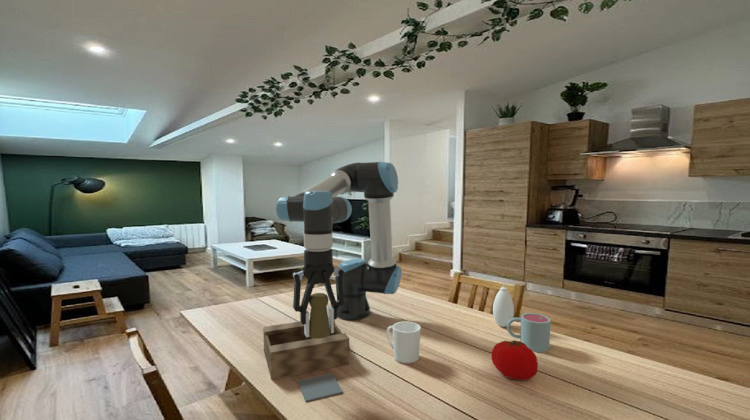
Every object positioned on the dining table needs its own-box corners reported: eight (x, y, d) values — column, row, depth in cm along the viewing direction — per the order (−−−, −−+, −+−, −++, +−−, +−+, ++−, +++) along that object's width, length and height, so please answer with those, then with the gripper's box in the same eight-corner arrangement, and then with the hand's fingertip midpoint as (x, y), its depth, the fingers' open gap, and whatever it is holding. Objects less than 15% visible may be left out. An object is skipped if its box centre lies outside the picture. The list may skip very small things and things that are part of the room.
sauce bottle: (491, 328, 137) (492, 282, 136) (493, 321, 144) (494, 277, 143) (513, 331, 134) (514, 284, 133) (513, 323, 141) (515, 279, 140)
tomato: (534, 390, 96) (535, 354, 95) (486, 377, 102) (487, 342, 102) (540, 372, 105) (541, 338, 104) (496, 361, 112) (496, 329, 111)
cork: (325, 339, 92) (325, 298, 92) (304, 337, 94) (303, 296, 93) (333, 330, 98) (333, 291, 98) (312, 328, 100) (312, 290, 99)
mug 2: (548, 343, 124) (550, 315, 124) (549, 354, 116) (550, 324, 115) (507, 336, 130) (508, 309, 129) (505, 346, 122) (506, 318, 121)
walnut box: (331, 338, 128) (331, 316, 128) (349, 363, 110) (349, 338, 110) (263, 350, 119) (263, 327, 118) (271, 379, 101) (270, 352, 100)
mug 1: (422, 353, 116) (423, 323, 116) (417, 367, 108) (417, 334, 107) (390, 348, 120) (390, 319, 119) (382, 361, 112) (382, 329, 111)
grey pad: (332, 374, 104) (332, 373, 104) (342, 393, 94) (342, 391, 94) (297, 382, 100) (297, 380, 100) (305, 402, 90) (305, 400, 90)
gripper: (347, 244, 101) (347, 322, 103) (279, 248, 94) (281, 333, 96) (356, 248, 95) (356, 332, 96) (284, 253, 87) (285, 345, 89)
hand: (319, 332), depth 96 cm, fingers closed on cork, 6 cm apart
